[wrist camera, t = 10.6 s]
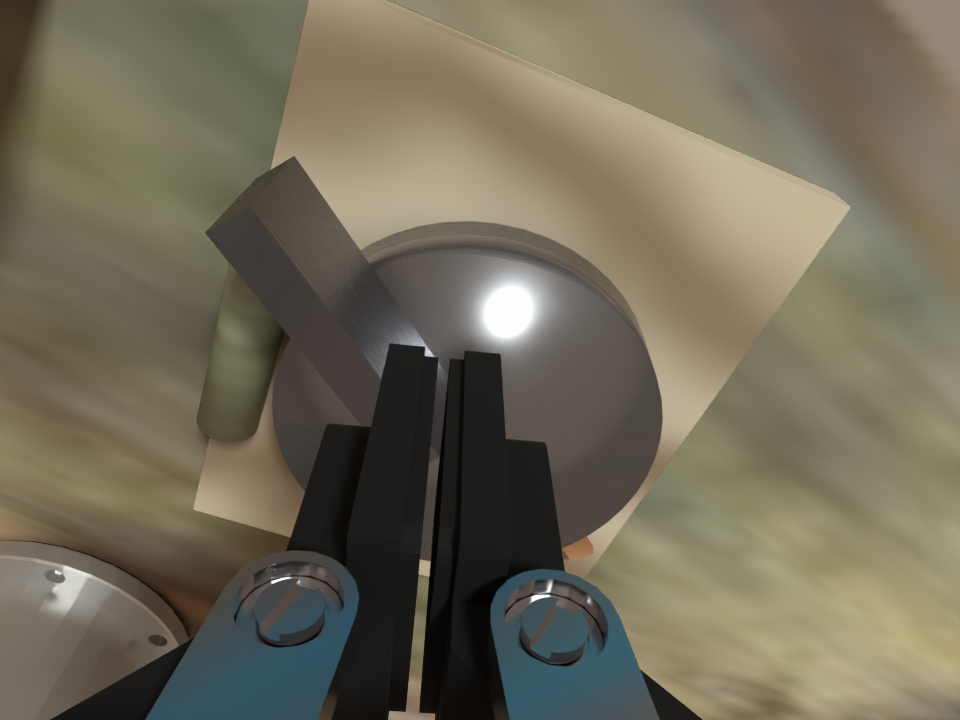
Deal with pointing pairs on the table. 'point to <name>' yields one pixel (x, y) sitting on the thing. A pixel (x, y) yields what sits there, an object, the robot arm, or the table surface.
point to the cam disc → (449, 338)
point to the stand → (510, 223)
